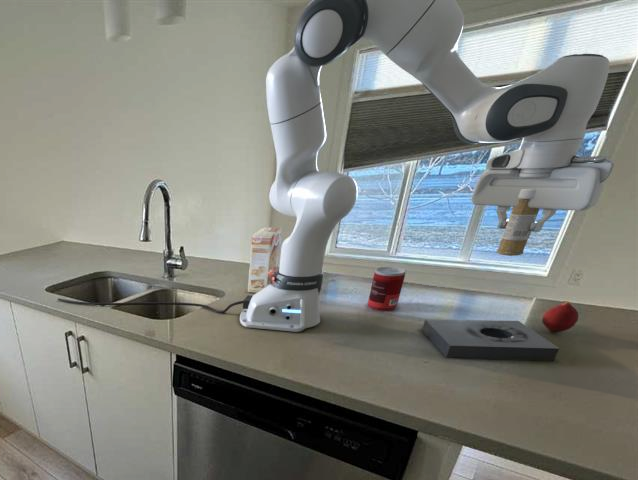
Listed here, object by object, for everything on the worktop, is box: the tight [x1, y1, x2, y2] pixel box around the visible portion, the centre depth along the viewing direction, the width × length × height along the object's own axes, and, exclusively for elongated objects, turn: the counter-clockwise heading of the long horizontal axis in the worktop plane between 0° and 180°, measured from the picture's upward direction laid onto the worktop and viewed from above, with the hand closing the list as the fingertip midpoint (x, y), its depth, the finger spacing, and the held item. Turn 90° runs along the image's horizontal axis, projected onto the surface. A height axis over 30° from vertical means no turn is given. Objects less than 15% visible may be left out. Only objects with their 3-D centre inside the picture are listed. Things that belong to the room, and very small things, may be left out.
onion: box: [542, 300, 579, 334], centre depth 97 cm, size 6×6×8 cm
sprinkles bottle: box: [496, 189, 540, 257], centre depth 87 cm, size 5×5×14 cm
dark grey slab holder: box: [421, 319, 560, 362], centre depth 96 cm, size 20×16×3 cm
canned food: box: [367, 266, 407, 312], centre depth 119 cm, size 8×8×11 cm
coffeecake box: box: [247, 227, 283, 294], centre depth 142 cm, size 15×7×20 cm, turn 149°
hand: (517, 229), depth 87 cm, fingers closed on sprinkles bottle, 4 cm apart
